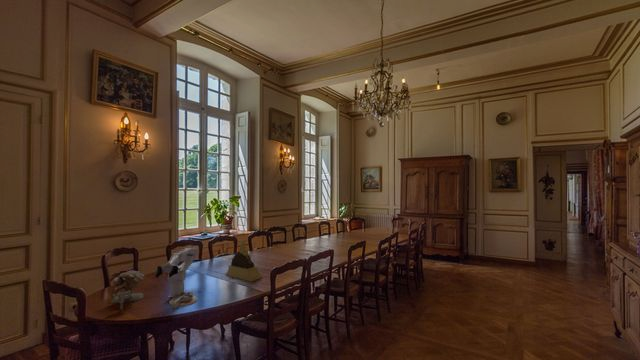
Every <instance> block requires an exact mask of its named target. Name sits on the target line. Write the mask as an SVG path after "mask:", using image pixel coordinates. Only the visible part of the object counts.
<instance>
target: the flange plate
mask: <svg viewBox="0 0 640 360" xmlns="http://www.w3.org/2000/svg"><path fill="white" fill-rule="evenodd" d="M173 301H174V297H172V299H170V300H169V306H172V302H173ZM197 301H198V298H197V296H194V295H193V299H192V300H191V301H188V302H183V303H180V304H179V305H178V306H177V307H185V306H190V305H193V304H195V303H196V302H197Z"/></svg>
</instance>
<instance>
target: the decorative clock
mask: <svg viewBox="0 0 640 360" xmlns="http://www.w3.org/2000/svg"><path fill="white" fill-rule="evenodd" d="M246 241H247V240H246V239H243V240H242V242H241V243H240V244H239V251H237V252H235V254H234V256H233V258H232V260H231V262H230V264H229V265H228V269H227V271H226V273H225V276H227V277H231V278H235V279H240V280H243V281H247V282H253V281H257V280H258V279H262V278H263V274H262V273H260V271H259V269H258V265H255V263H254V262H253V261H252V256H251V254H250V253H249V249H246V243H247V242H246Z"/></svg>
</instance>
